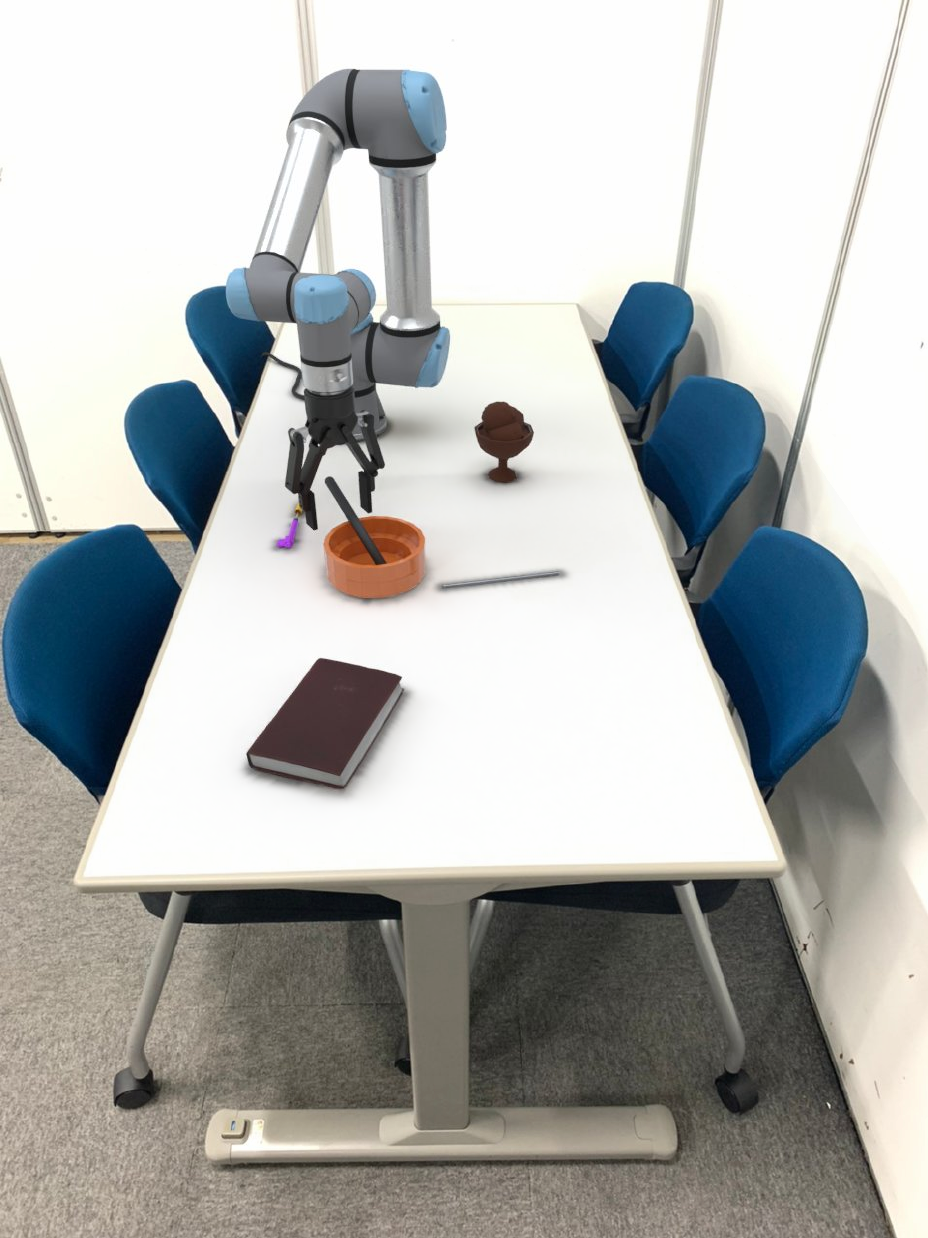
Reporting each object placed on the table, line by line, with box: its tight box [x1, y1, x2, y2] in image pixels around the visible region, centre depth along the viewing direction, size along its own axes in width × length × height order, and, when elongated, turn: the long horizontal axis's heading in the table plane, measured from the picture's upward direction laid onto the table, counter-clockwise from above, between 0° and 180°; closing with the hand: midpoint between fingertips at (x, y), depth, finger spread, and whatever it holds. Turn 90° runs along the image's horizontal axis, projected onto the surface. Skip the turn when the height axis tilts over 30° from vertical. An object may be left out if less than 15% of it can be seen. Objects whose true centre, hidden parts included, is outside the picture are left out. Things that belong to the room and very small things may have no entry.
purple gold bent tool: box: [276, 500, 303, 549], centre depth 154 cm, size 3×1×16 cm
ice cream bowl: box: [473, 400, 535, 484], centre depth 165 cm, size 11×11×15 cm
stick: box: [324, 476, 387, 565], centre depth 142 cm, size 20×2×10 cm, turn 35°
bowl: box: [323, 515, 427, 599], centre depth 140 cm, size 16×16×6 cm
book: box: [245, 657, 405, 790], centre depth 112 cm, size 12×19×3 cm, turn 161°
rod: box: [441, 570, 560, 590], centre depth 140 cm, size 1×19×1 cm, turn 103°
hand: (339, 517), depth 147 cm, fingers open, 9 cm apart
